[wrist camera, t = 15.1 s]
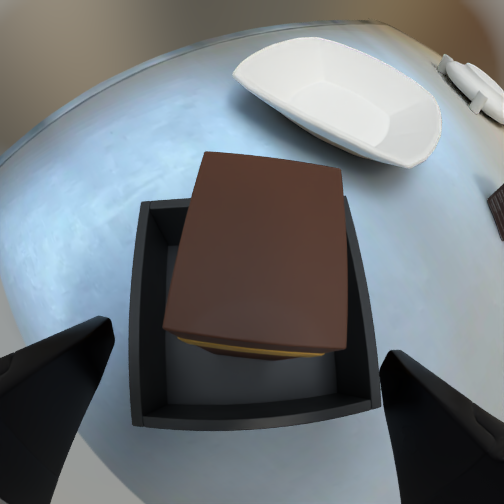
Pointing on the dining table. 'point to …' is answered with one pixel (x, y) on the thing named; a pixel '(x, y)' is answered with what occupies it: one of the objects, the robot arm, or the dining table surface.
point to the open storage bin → (236, 368)
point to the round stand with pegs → (475, 87)
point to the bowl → (346, 99)
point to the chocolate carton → (262, 260)
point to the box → (498, 209)
